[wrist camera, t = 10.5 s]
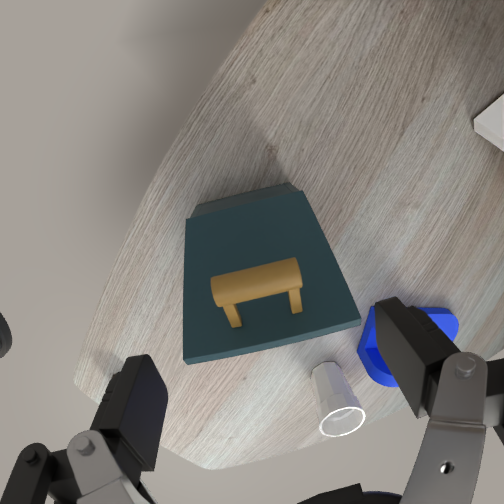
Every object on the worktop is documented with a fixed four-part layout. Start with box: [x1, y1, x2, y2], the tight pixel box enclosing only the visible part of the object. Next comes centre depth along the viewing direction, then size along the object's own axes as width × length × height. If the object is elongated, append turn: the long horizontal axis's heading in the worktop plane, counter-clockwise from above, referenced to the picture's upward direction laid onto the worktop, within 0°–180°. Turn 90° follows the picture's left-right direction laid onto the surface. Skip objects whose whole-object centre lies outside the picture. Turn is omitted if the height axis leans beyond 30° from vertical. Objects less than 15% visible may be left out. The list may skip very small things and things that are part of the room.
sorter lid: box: [183, 190, 361, 365], centre depth 24 cm, size 15×12×5 cm
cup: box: [310, 362, 365, 437], centre depth 44 cm, size 7×7×11 cm
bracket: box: [357, 306, 459, 387], centre depth 43 cm, size 18×8×9 cm, turn 84°
